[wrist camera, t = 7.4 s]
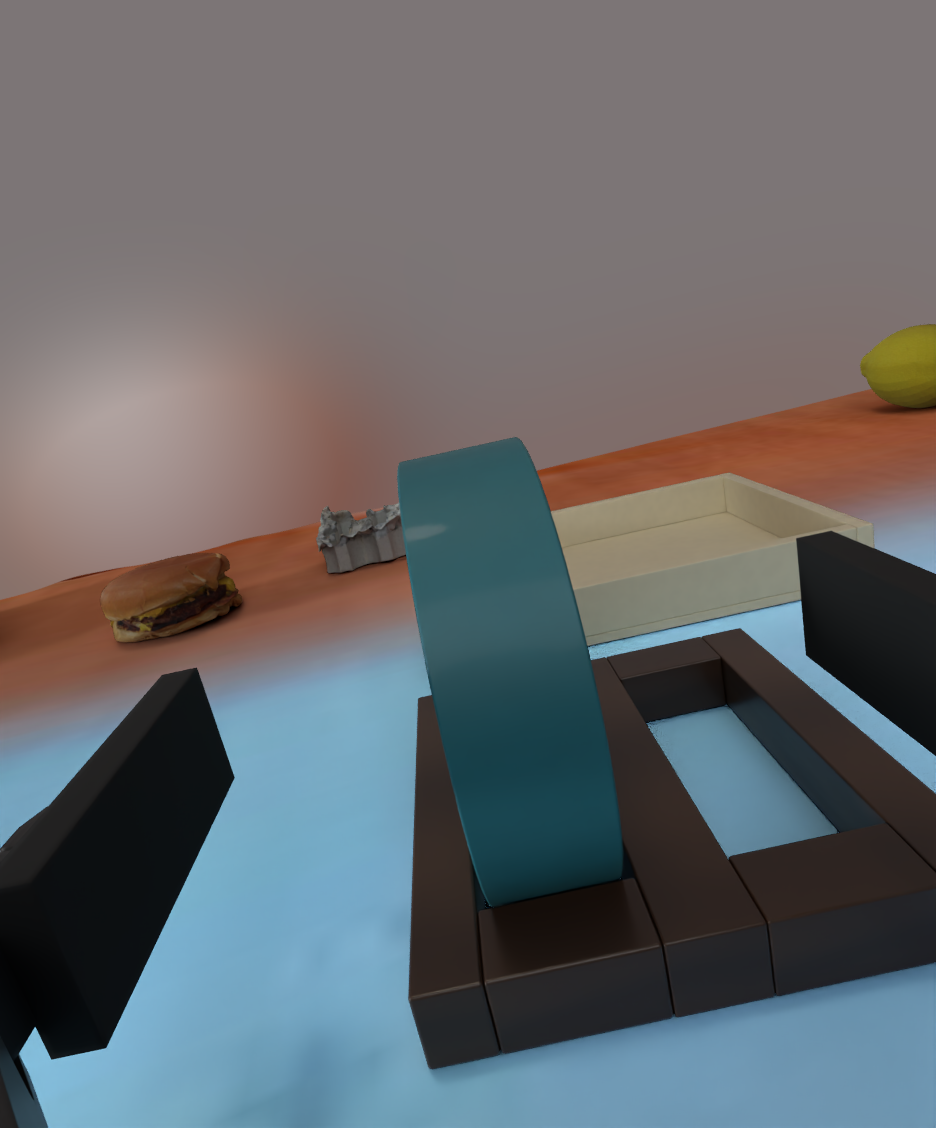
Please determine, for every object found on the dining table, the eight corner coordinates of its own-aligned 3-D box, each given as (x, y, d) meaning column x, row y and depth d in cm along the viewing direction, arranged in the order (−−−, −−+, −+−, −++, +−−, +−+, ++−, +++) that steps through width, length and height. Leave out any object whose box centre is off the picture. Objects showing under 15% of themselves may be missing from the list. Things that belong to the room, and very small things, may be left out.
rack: (1025, 945, 15) (1025, 867, 15) (428, 1072, 15) (407, 1000, 15) (745, 672, 29) (740, 627, 28) (428, 741, 29) (417, 697, 28)
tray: (435, 679, 34) (420, 622, 34) (432, 579, 50) (423, 539, 49) (877, 583, 34) (873, 523, 33) (734, 514, 50) (729, 472, 49)
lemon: (1001, 398, 68) (1001, 311, 66) (934, 417, 66) (931, 328, 64) (906, 399, 78) (903, 323, 76) (845, 415, 77) (841, 338, 74)
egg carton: (333, 548, 67) (322, 505, 66) (412, 530, 67) (402, 488, 66) (318, 580, 57) (304, 530, 56) (411, 559, 57) (399, 509, 56)
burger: (107, 630, 55) (86, 574, 54) (225, 591, 60) (208, 537, 59) (123, 662, 47) (99, 596, 46) (259, 613, 52) (241, 551, 50)
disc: (650, 997, 16) (569, 498, 12) (513, 1025, 16) (387, 539, 12) (555, 717, 28) (496, 408, 24) (474, 734, 28) (401, 429, 24)
